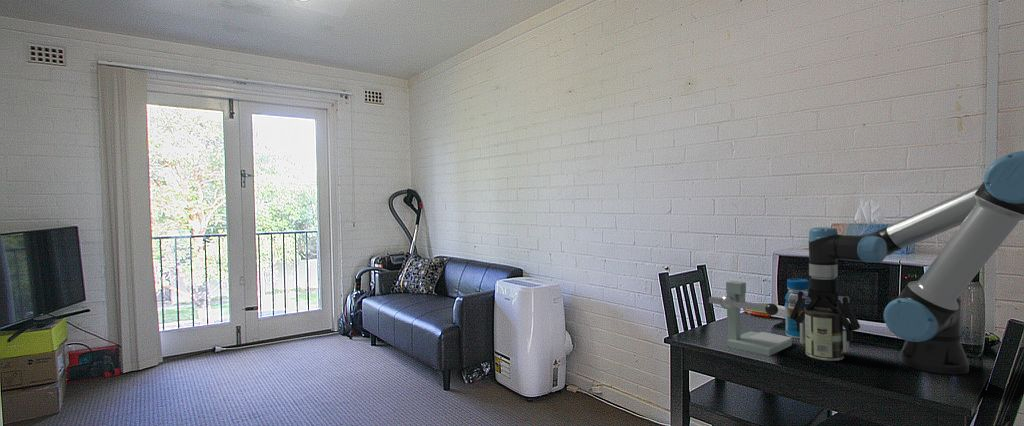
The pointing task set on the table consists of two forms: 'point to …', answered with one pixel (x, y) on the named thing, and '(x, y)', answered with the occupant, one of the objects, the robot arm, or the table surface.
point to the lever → (743, 305)
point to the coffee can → (823, 334)
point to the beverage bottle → (791, 299)
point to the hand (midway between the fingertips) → (823, 346)
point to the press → (750, 340)
